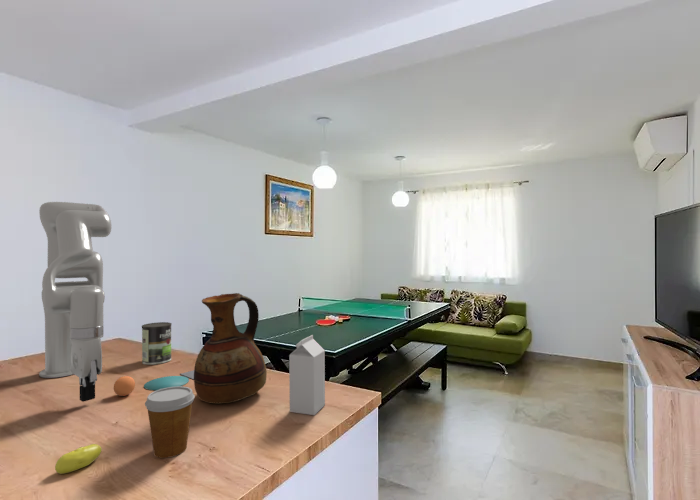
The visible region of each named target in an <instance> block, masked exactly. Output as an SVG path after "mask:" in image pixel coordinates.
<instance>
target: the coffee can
mask: <svg viewBox="0 0 700 500" xmlns="http://www.w3.org/2000/svg"><path fill="white" fill-rule="evenodd" d="M141 338H142V339H141V340H142V341H141V351H142V352H141V353H142V354H141V359H142V360H141V361H142V362H141V363H142V364H143V365H147V366H148V365H149V366H150V365H154V366H155V365H161V364H166V363H168V362H171V361H172V322H165V321H163V322H161V321H160V322H149V323H146V324H142V325H141Z"/></svg>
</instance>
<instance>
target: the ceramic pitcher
mask: <svg viewBox="0 0 700 500" xmlns="http://www.w3.org/2000/svg"><path fill="white" fill-rule="evenodd" d="M242 301H244V302H245V303H246V305H247V307H248V322H247V326H246V329H245V331H244V332H240V331H239V330H238V328H237V325H236V322H235V307H236V305H237V303H239V302H242ZM201 302H202V304H203V305H205V307H207V308H208V310H209V311H210V322H211V324H212V326H213V327H212V328H213V329H212V333H211V337H210V338H209V339H208V340H207V341H206V342H205V343H204V345H203V346H202V347H201V349H200V351H198V354H197V357H196V359H195V362H194V363H195V364H194V369H193V370H194V380H193V386H194V389H195V392H196V395H197V397H198V398H199V399H200V400H201V401H202V402H205V403H209V404H227V403H228V404H230V403H233V402H237V401H241V400H242V399H243V400H244V399H245V398H249V397H251V396H253V395H255V394H257V393H258V392H260V390H261V389H262V388H263V387H264V386H265V385H266V383H267V366H266V363H265V360H264V356H263V353H262V352H261V350H260V348H259V347H258V346H257V345H256V343H255V336H256V333H257V328H258V323H259V318H260V317H259V316H260V315H259V307H258V305H257V304H256V302H255V301H254V300H253V299H252V298H250V297H248V296H246V295H243V294H241V293H239V292H238V293H237V292H234V293H233V292H232V293H225V294H224V293H222V294H220V295H219V294H218V295H211V296H207V297H206V298H202V299H201Z"/></svg>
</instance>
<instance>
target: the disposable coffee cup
mask: <svg viewBox="0 0 700 500" xmlns="http://www.w3.org/2000/svg"><path fill="white" fill-rule="evenodd" d="M194 400H195V394H194V392H193V389H192V388H191V387H188V386H177V387H168V388H163V389H159V390H153V392H151V393H149V394H148V395H147V398H146V401H145V402H144V405H145V408H146V410H147V412H148V421H149V429H150V435H151V441H152V447H153V448H152V449H153V456H155V457H156V458H160V459H165V458H172V457H176V456H178V455H180V454H182V453H184V452H185V451H186V449H187V447H188V439H189V430H190V422H191V416H192V414H191V413H192V406H193V402H194Z"/></svg>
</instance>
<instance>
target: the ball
mask: <svg viewBox="0 0 700 500" xmlns="http://www.w3.org/2000/svg"><path fill="white" fill-rule="evenodd" d="M135 388H136V381H135V379H134V378H133V377H131V376H128V375H123V376H121V377H119V378H118V379H116V381H115V382H114V384H113V392H114V394H116V395H117V396H120V397H124V396H125V397H126V396H128V395H130V394H132V393H133V391H134V390H135Z"/></svg>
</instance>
